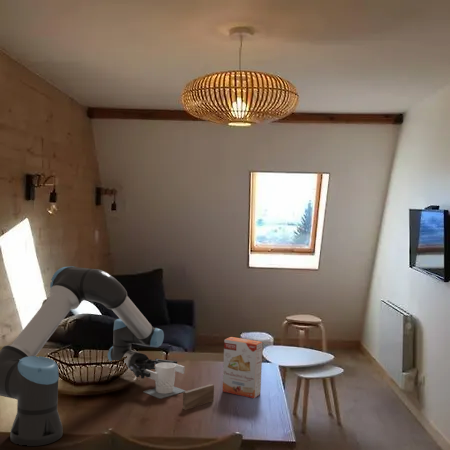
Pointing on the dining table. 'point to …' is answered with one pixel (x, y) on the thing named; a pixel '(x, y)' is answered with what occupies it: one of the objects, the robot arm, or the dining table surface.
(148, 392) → the front mat
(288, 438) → the dining table surface
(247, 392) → the cracker box
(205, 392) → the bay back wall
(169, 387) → the white cup
